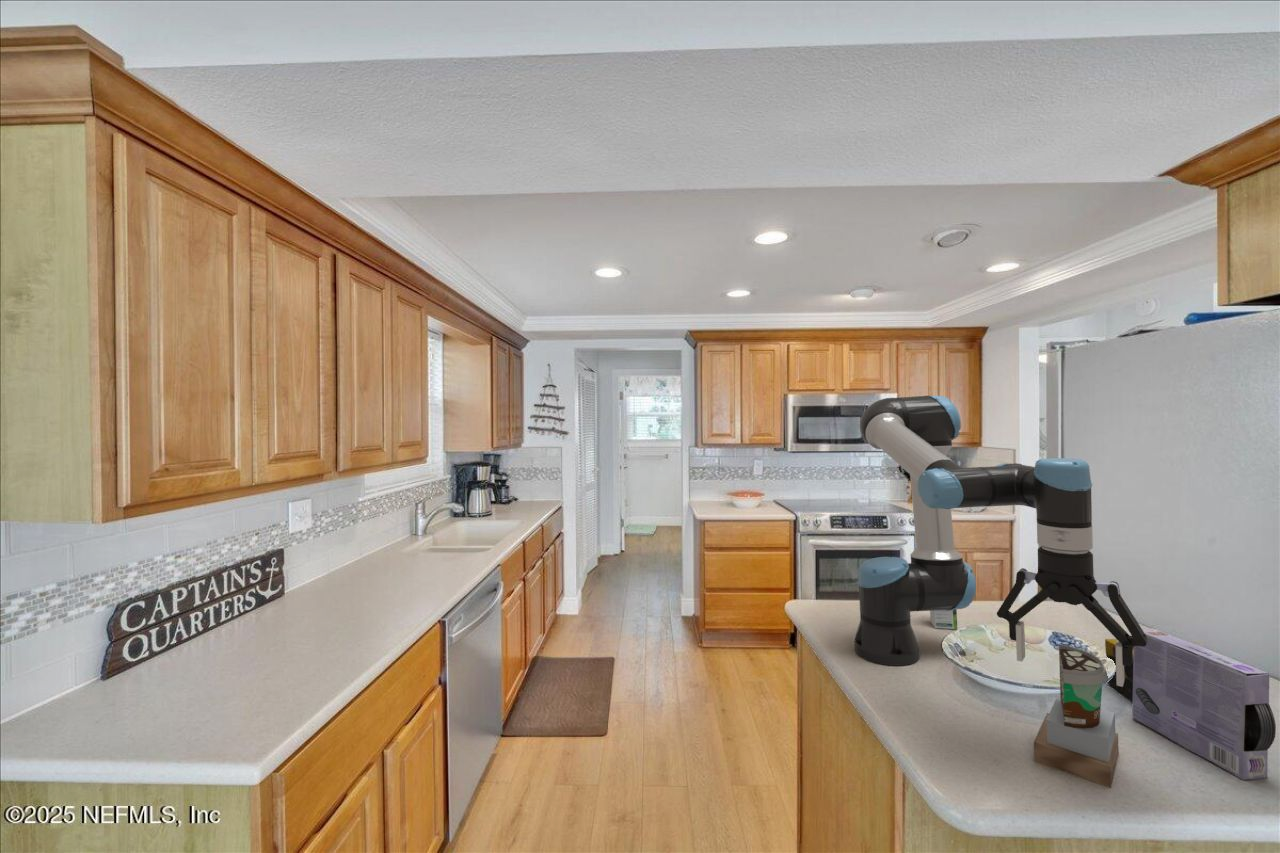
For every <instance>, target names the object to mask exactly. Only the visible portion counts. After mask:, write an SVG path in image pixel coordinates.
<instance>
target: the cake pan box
mask: <svg viewBox="0 0 1280 853" xmlns="http://www.w3.org/2000/svg"><path fill="white" fill-rule="evenodd" d="M1142 630H1143V632H1144V633H1145V635H1146V636H1147V638H1148V639H1147V644H1146V646H1144V647H1142V646H1134V657H1133V702H1132V708H1131V710H1132V712H1131V715H1132V716H1131V717H1132V719H1133V720H1134V721H1137V722H1138V723H1140V724H1143V725H1144V726H1147V727H1148V728H1150V729H1151V730H1153V731H1154V732H1157V733H1159V734H1160V735H1163V736H1164V737H1166V738H1167V739H1169V740H1170V741H1171V742H1172V743H1175V744H1177V745H1178V746H1180V747H1182V748H1184V749H1185V750H1188V751H1190V753H1193V754H1195V755H1198V756H1200V757H1202V758H1204V759H1205V760H1207V761H1209V762H1211V763H1213V764H1215V765H1216V766H1217V767H1220V768H1222V769H1223V770H1225V771H1228V772H1229V773H1231V774H1232V775H1234V776H1236V778H1239V779H1240V780H1242V781H1251V780H1258V779H1259V780H1260V778H1261V779H1265V778H1264V777H1267V778H1268V772H1269V771H1268V766H1269V764H1268V763H1269V762H1268V761H1269V760H1268V757H1269V756H1268V751H1269V749H1270V748H1271V747H1272V745H1273V744H1274V742H1275V738H1276V730H1277V729H1276V728H1277V727H1276V726H1277V725H1276V720H1275V716H1274V713H1273V710H1272V707H1271V705H1270V673H1269V672H1267V671H1265V670H1262V669H1261V668H1257V667H1254V666H1252V665H1249V664H1246V663H1243V662H1241V661H1239V660H1236V659H1233V658H1231V657H1229V656H1226V655H1223V654H1221V653H1218V652H1216V651H1213V650H1211V649H1208V648H1206V647H1203V646H1201V645H1198V644H1195V643H1194V642H1190V641H1188V640H1185V639H1183V638H1179V637H1177V636H1174V635H1172V634H1169V633H1167V632H1164V631H1162V630H1159V629H1157V628H1142Z"/></svg>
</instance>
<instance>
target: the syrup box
mask: <svg viewBox="0 0 1280 853" xmlns="http://www.w3.org/2000/svg"><path fill="white" fill-rule="evenodd" d="M957 610H958V609H954V610H951V611H946V610H934V611H929V616H930V617H929V619H930V622H931V624H932V626H933V627H934V629H936V630H937V629H943V630H944V629H947V630H956V629H957V630H958V614H957V613H958V612H957Z"/></svg>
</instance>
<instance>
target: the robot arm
mask: <svg viewBox="0 0 1280 853" xmlns="http://www.w3.org/2000/svg"><path fill="white" fill-rule="evenodd" d="M961 422H962V421H961V416H960V413H959V410H958V408H957V407H956V405H955V404H954V403H953V402H952V400H951V399H949V398H947V397H945V396H942V395H929V394H928V395H920V396H919V395H918V396H906V397H905V396H904V397H903V396H902V397H886V398H882V399H879V400H877V401H874V402H873V403H872V404H870V405H869V406H867V408H866V409H864V411H863V413H862V414H861V417H860V421H859V432H860V433H861V435H862V437H863V439H864V441H865V442H866V443H868V445H870V446H871V447H873V448H875V449H877V450H880V451H881V450H882V451H883V452H884V453H885V454H886V455H888V457H890V458H891V459H892V460H893V461H894V462H895V463H897V465H899V466H900V467H901V468H902V469H903V470H905V472H906V473H908V474H909V476H910V488H911V500H912V502H911V503H912V512H913V524H914V535H915V536H914V537H915V549H914V550H913V551H912V552H911V553H910V562H909V563H908V561H907V560H906V559H905V558H902V557H898V556H879V557H874V558H869V559H866V560H865V561H863V562H862V563H860V565H859V567H858V578H857V584H858V595H859V596H858V597H859V614H860V615H859V619H860V621H859V623H858V626H857V630H856V633H855V635H854V640H853V642H854V643H853V644H854V645H853V646H854V648H853V649H854V651H855V653H856V654H857V655H858V656H859V657H861V658H862V659H864V660H867V661H869V662H873V663H875V662H876V664H879V663H880V665H884V666H885V665H886V666H887V665H888V666H907V665H908V666H909V665H912V664H915V663H916V662H918V661H919V660H920V658H921V650H920V646H919V645H920V644H919V643H918V641H917V640H918V639H917V637H916V635H915V632H914V629H913V627H912V624H911V612H930V611H934V610H946V611H951V610H954V609H957V610H962V609H965V608H967V607H968V608H969V606H970V605H971V604H972V603H973V601H974V600H975V596H976V593H977V592H976V590H977V580H976V576H975V574H974V573H973V571H974V569H972V567H971V566H970V564H969V563H967V562H966V561H963V555H962V554H961V553H959V552H958V551H957V550H956V549H955V540H954V529H953V518H952V509H964V508H965V509H966V508H982V507H987V508H988V507H1007V506H1023V507H1024V506H1025V507H1029V508H1033V509H1035V510H1036V512H1035V513H1036V542H1037V543H1036V544H1038V545H1039V547H1038V548H1037V572H1032V571H1028V570H1027V569H1026V568H1020V569H1019V570H1018V571H1017V572H1016V575H1015V576H1016V577H1015V582H1014V585H1013V586H1012V588H1011V589H1010V591H1009V593H1008V594H1007V596H1006V598H1005V599H1004V601H1003V602H1002V604H1001V605H1000V607H999V609H998V610H997V612H996V616H997V617H998V618H1001V619H1004V620H1006V621H1007V622H1008V634H1009V636H1008V637H1009V638H1010V640H1011V641H1015V645H1016V661H1017V662H1023V661H1024V659H1025V658H1026V638H1025V636H1026V635H1025V621H1024V620H1021V619H1023V618H1024V617H1025V616H1026V615H1028V614H1029V613H1030V612H1031V611H1032V610H1033V609H1035V608H1036V607H1037V606H1039V605H1040V604H1041V603H1042V602H1044V601H1045V600H1046V599H1050V600H1052V601H1053V602H1054V603H1066V604H1069V605H1070V606H1071V605H1072V606H1078V605H1082V606H1083V607H1084V608H1085V609H1086V610H1087V611H1089V612H1090V613H1091V614H1092V615H1093V616H1094V617H1095V618H1096V619H1097V621H1098V622H1100V624H1102V625H1103V626H1104V627H1105V628H1106V630H1107V631H1108V632H1109V633H1110V634H1111V635H1112V636H1113V637H1114V639H1117V640H1118V641H1117V643H1116V680H1117V686H1121V687H1123V684H1124V665H1126V666H1130V667H1131V665H1132V663H1133V647H1134V646H1142V647H1144V646H1146V644H1147V639H1148V638H1147V636H1146V635H1145V633H1144V632H1143V630H1142V629H1143V628H1142V627H1141V625H1140V623H1139V622H1138V621H1137V618H1135V615H1134V614H1133V613H1132V611H1131V609H1130V607H1129V606H1128V605H1127V603H1126V601H1125V600H1124V599H1123V597H1122V595H1121V590H1120V585H1119V583H1118V582H1117V581H1112V580H1111V581H1110V582H1098V581H1096V578H1095V575H1094V574H1095V573H1094V554H1093V552H1092V551H1091V550H1092V549H1093V548H1094V547H1093V546H1094V545H1093V539H1094V538H1093V522H1092V521H1093V517H1092V515H1093V514H1092V513H1093V512H1092V503H1093V502H1092V487H1093V483H1092V480H1091V471H1090V470H1091V469H1090V465H1089V463H1088V462H1087V461H1085V460H1083V459H1079V458H1066V457H1064V458H1063V457H1062V458H1061V457H1056V458H1055V457H1054V458H1053V457H1051V458H1050V457H1049V458H1047V457H1046V458H1039V459H1038V460H1036V461H1035V465H1034V466H1030V465H1026V464H1021V463H1000V464H998V465H996V466H975V467H972V466H971V467H962V466H961V465H959V464H958V463H956V462H955V461H953V460H952V459H951V458H949V457H948V456H947V454H948V452H949V451H950V449H952V448H953V442H952V441H954V440H955V439H957V438H958V436H959V435H960V433H961V432H960V431H961V429H962V423H961ZM1032 581H1035V582H1036V584H1038V586H1039V587H1040V588H1041V590H1040V591H1039V592H1037V593H1036V594H1035V595H1034V596H1032V597H1031V598H1030V599H1028V601H1026V602H1025V603H1024V604H1022V606H1020V607H1019V608H1018V609H1016V610H1015V611H1014V612H1012V611H1010V610H1011V608H1012V606H1013V604H1014V603H1015V602H1016V599H1017V598H1018V597H1019V595H1020V594H1021V592H1022V590H1023V589H1024V588H1025V586H1026V585H1029V584H1031V582H1032ZM1096 591H1100V592H1101V593H1102V594H1103V596H1105V597H1108V598H1109V600H1110V602H1111V604H1112V606H1113V608H1114V610H1115V611H1116V612H1117V614H1118V616H1119V617H1120V619H1121V620H1122V622H1123V624H1124V626H1125V627H1126V628H1127V630H1128V632H1129V633H1128V632H1127V631H1126V630H1125V629H1124V628H1123V627H1122V626H1121V625H1120V623H1118V621H1116V620H1115V618H1114V617H1113V616H1111V614H1109V612H1107V610H1106V609H1105V608H1104V607H1103V605H1101V604H1100V603H1099V600H1097V598H1095V597H1094V595H1093V594H1094V593H1096Z"/></svg>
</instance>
